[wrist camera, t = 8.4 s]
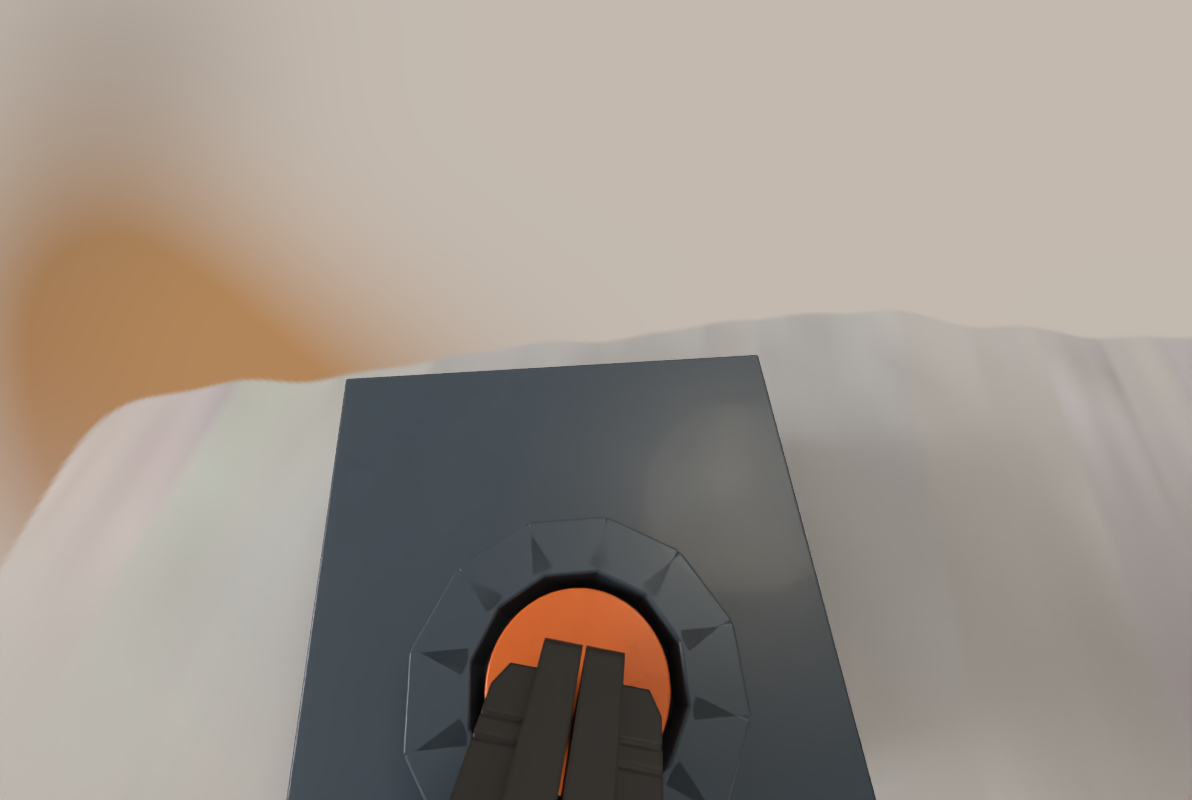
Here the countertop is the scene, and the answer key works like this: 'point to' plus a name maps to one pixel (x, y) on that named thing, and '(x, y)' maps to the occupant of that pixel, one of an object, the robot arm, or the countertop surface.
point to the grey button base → (570, 574)
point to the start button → (586, 641)
